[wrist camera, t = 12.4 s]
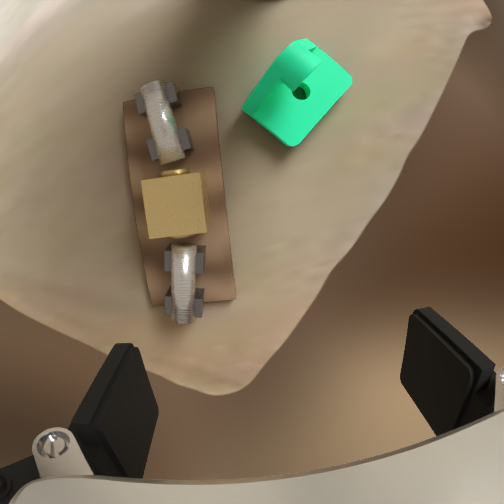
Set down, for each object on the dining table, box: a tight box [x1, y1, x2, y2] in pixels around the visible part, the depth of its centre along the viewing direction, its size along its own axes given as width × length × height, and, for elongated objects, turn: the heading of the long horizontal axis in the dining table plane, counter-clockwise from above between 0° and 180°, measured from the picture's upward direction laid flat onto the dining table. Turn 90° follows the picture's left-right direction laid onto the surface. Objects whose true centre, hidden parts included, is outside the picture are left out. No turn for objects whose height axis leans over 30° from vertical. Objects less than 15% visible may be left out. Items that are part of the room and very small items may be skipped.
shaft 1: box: [134, 80, 195, 166], centre depth 32 cm, size 9×4×5 cm, turn 16°
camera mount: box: [241, 39, 352, 147], centre depth 31 cm, size 12×8×10 cm, turn 141°
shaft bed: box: [123, 87, 236, 306], centre depth 37 cm, size 26×11×2 cm, turn 6°
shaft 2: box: [164, 242, 206, 324], centre depth 37 cm, size 9×4×5 cm, turn 176°
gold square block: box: [141, 168, 211, 239], centre depth 34 cm, size 7×6×6 cm
